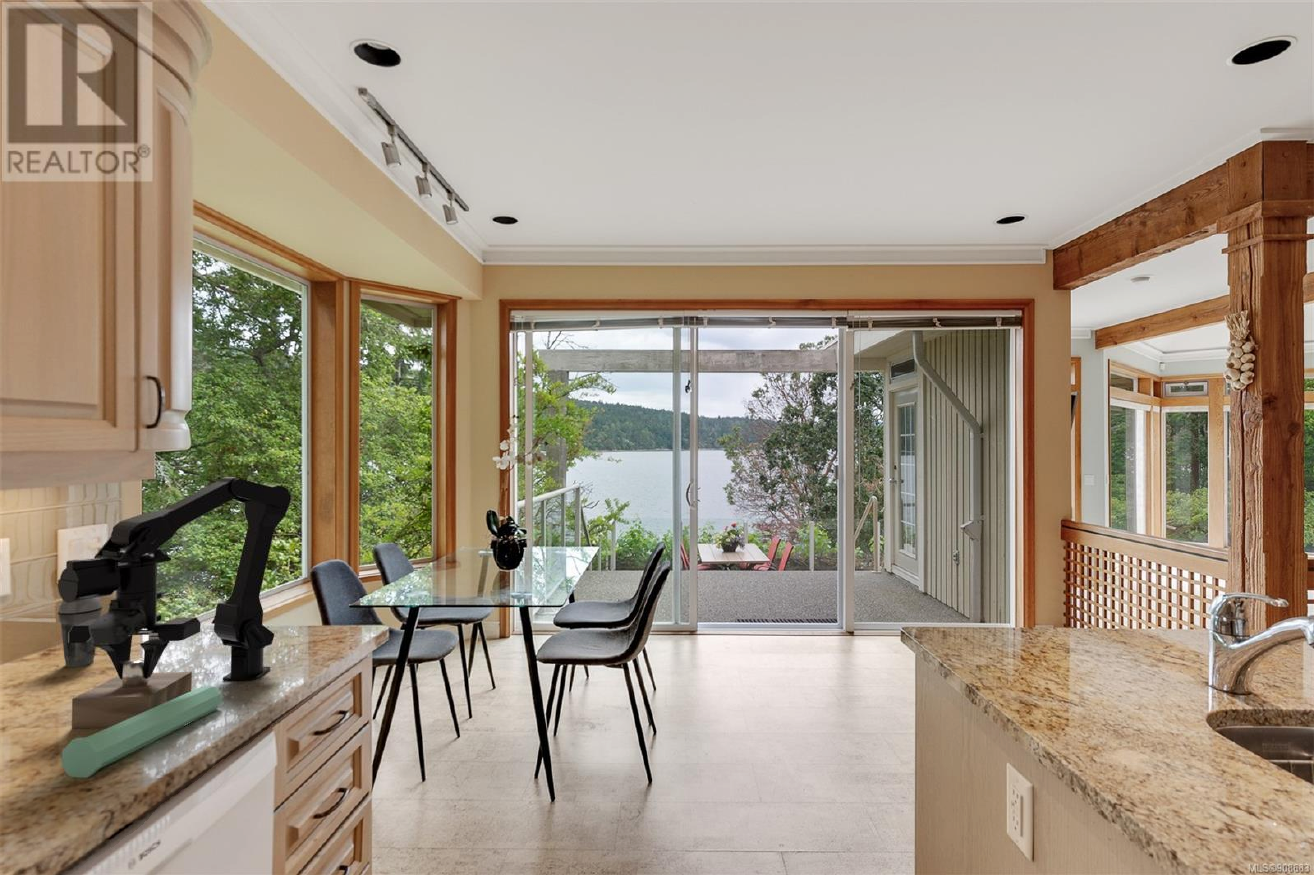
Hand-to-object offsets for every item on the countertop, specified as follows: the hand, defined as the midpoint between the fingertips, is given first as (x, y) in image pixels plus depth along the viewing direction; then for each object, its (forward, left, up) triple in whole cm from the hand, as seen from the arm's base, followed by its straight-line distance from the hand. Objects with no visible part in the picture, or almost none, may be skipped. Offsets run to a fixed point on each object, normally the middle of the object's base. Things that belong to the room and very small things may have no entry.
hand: (135, 678), depth 116 cm
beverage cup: (-28, -29, -6) cm, 41 cm away
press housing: (0, 0, -6) cm, 6 cm away
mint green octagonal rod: (+11, +10, -7) cm, 16 cm away
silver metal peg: (0, 0, -6) cm, 6 cm away
